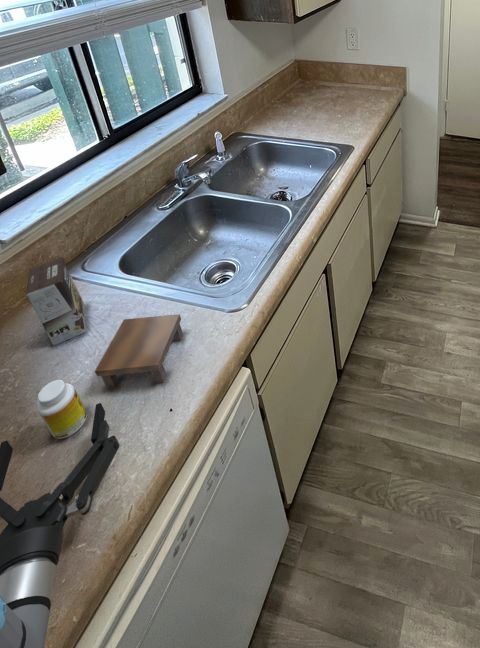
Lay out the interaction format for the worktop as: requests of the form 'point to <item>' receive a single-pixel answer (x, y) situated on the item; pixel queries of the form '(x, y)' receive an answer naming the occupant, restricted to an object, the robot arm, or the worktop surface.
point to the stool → (140, 348)
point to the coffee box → (56, 300)
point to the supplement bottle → (61, 409)
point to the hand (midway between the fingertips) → (55, 426)
